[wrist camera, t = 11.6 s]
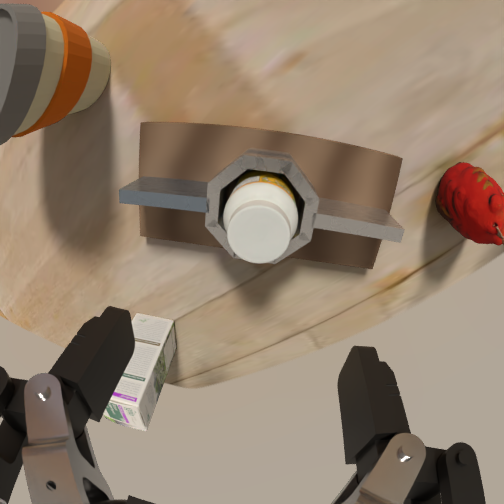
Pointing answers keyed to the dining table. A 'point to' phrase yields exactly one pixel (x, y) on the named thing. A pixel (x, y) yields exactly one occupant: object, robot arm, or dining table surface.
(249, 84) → the dining table surface
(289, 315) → the dining table surface
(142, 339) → the syrup box
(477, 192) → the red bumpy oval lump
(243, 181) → the supplement bottle
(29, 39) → the reusable coffee cup
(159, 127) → the board
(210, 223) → the grey winged octagonal holder
